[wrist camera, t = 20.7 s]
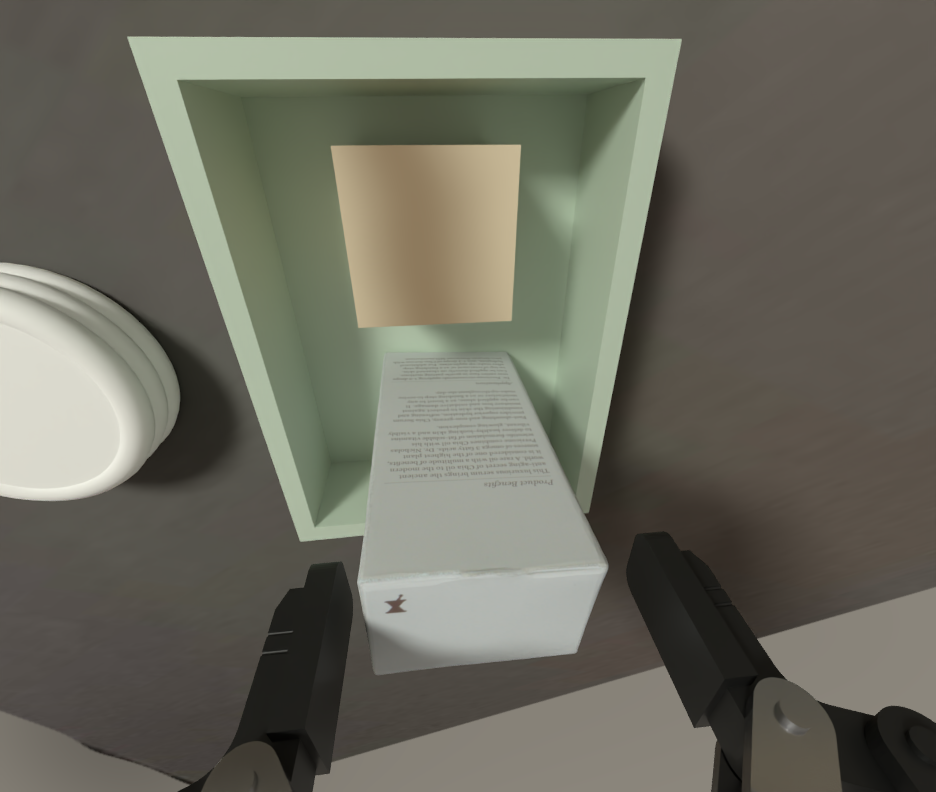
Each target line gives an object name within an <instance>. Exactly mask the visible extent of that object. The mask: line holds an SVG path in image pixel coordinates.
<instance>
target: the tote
mask: <svg viewBox="0 0 936 792" xmlns="http://www.w3.org/2000/svg"><path fill="white" fill-rule="evenodd" d="M128 40H129V43H130V46H131V49H132V52H133V55H134V58H135V61H136V64H137V67H138V70H139V72H140V75H141V78H142V81H143V84H144V87H145V90H146V93H147V96H148V99H149V102H150V105H151V107H152V110H153V113H154V116H155V119H156V122H157V125H158V128H159V131H160V134H161V137H162V140H163V142H164V145H165V148H166V151H167V154H168V157H169V160H170V163H171V166H172V169H173V172H174V175H175V178H176V180H177V183H178V186H179V189H180V192H181V195H182V198H183V201H184V204H185V207H186V210H187V213H188V215H189V218H190V221H191V224H192V227H193V230H194V233H195V236H196V239H197V242H198V245H199V248H200V250H201V253H202V256H203V259H204V262H205V265H206V268H207V271H208V274H209V277H210V280H211V283H212V285H213V288H214V291H215V294H216V297H217V300H218V303H219V306H220V309H221V312H222V315H223V318H224V320H225V323H226V326H227V329H228V332H229V335H230V338H231V341H232V344H233V347H234V350H235V353H236V355H237V358H238V361H239V364H240V367H241V370H242V373H243V376H244V379H245V382H246V385H247V388H248V390H249V393H250V396H251V399H252V402H253V405H254V408H255V411H256V414H257V417H258V420H259V423H260V425H261V428H262V431H263V434H264V437H265V440H266V443H267V446H268V449H269V452H270V455H271V458H272V460H273V463H274V466H275V469H276V472H277V475H278V478H279V481H280V484H281V487H282V490H283V493H284V496H285V498H286V501H287V504H288V507H289V510H290V513H291V516H292V519H293V522H294V525H295V528H296V531H297V533H298V536H299V539H300V542H301V541H311V540H321V539H331V538H341V537H351V536H361V535H364V532H365V522H366V511H367V501H368V492H369V483H370V473H371V465H372V455H373V446H374V437H375V429H376V419H377V411H378V404H379V395H380V386H381V377H382V367H383V360H384V355H385V353H387V352H507V353H508V354H509V355H510V357H511V359H512V361H513V364H514V366H515V368H516V370H517V372H518V374H519V376H520V378H521V381H522V383H523V385H524V387H525V389H526V391H527V393H528V396H529V398H530V400H531V402H532V404H533V406H534V408H535V411H536V413H537V415H538V417H539V419H540V422H541V424H542V426H543V428H544V430H545V432H546V434H547V436H548V438H549V440H550V443H551V445H552V447H553V449H554V451H555V453H556V455H557V457H558V460H559V462H560V464H561V466H562V468H563V470H564V473H565V475H566V477H567V479H568V481H569V483H570V485H571V487H572V489H573V491H574V493H575V495H576V497H577V500H578V502H579V504H580V506H581V508H582V510H583V512H584V513H589V509H590V504H591V499H592V494H593V489H594V484H595V479H596V474H597V469H598V464H599V458H600V453H601V448H602V443H603V438H604V433H605V428H606V423H607V418H608V413H609V407H610V402H611V397H612V392H613V387H614V382H615V377H616V372H617V367H618V362H619V356H620V351H621V346H622V341H623V336H624V331H625V326H626V321H627V316H628V311H629V305H630V300H631V295H632V290H633V285H634V280H635V275H636V270H637V265H638V260H639V254H640V249H641V244H642V239H643V234H644V229H645V224H646V219H647V214H648V209H649V203H650V198H651V193H652V188H653V183H654V178H655V173H656V168H657V163H658V158H659V153H660V147H661V142H662V137H663V132H664V127H665V122H666V117H667V112H668V107H669V102H670V96H671V91H672V86H673V81H674V76H675V71H676V66H677V61H678V56H679V51H680V45H681V40H682V39H550V38H314V37H128ZM345 145H521V155H520V173H519V192H518V211H517V229H516V248H515V267H514V285H513V304H512V321H498V322H477V323H455V324H433V325H412V326H390V327H368V328H358V322H357V315H356V309H355V302H354V296H353V289H352V283H351V276H350V269H349V263H348V256H347V250H346V243H345V237H344V230H343V224H342V217H341V211H340V204H339V197H338V191H337V184H336V178H335V171H334V165H333V158H332V152H331V146H345Z"/></svg>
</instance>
